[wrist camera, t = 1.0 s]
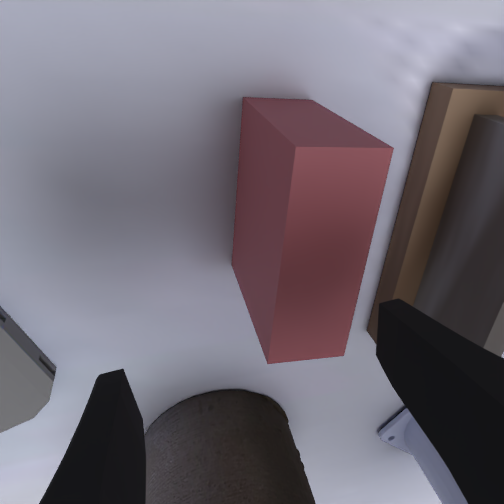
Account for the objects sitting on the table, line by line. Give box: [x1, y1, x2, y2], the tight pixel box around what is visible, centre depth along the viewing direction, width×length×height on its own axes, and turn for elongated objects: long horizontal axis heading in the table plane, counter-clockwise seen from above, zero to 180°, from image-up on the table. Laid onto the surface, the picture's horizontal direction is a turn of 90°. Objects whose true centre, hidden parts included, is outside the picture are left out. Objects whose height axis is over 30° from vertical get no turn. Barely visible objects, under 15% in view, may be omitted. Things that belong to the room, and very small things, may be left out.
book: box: [232, 97, 394, 364], centre depth 17 cm, size 3×8×7 cm, turn 174°
